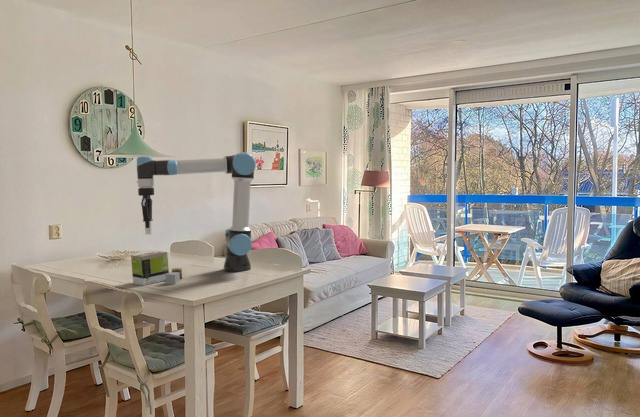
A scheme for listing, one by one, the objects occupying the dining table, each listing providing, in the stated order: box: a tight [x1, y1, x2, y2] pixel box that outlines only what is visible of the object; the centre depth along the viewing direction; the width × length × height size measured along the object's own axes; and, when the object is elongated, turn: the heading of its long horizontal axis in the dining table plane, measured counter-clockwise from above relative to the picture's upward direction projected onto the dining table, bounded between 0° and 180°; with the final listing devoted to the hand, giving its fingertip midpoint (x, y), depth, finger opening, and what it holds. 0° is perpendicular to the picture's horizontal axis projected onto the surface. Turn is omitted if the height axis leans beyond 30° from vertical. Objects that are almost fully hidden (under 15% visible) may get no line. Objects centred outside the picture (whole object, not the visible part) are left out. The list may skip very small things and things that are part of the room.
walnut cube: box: [171, 267, 183, 280], centre depth 254 cm, size 5×5×5 cm
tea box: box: [130, 250, 170, 286], centre depth 248 cm, size 15×10×15 cm
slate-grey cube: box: [165, 271, 181, 285], centre depth 243 cm, size 5×5×5 cm
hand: (148, 234), depth 247 cm, fingers closed
